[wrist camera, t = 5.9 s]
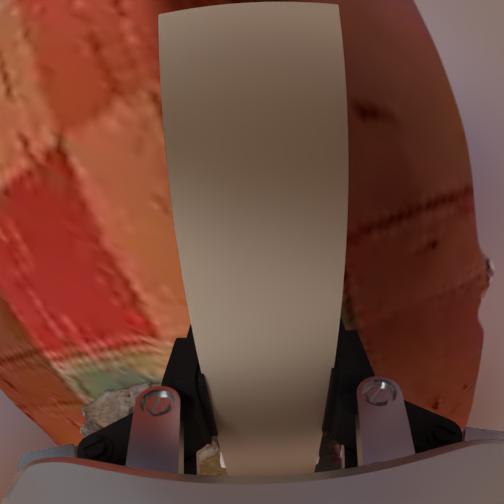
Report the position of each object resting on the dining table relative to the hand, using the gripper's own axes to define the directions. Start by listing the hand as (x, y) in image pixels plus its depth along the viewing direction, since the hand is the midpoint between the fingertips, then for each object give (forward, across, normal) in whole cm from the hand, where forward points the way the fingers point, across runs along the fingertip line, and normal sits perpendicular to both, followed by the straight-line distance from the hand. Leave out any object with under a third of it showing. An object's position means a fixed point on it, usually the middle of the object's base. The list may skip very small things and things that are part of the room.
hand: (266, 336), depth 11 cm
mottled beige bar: (+2, 0, 0) cm, 2 cm away
